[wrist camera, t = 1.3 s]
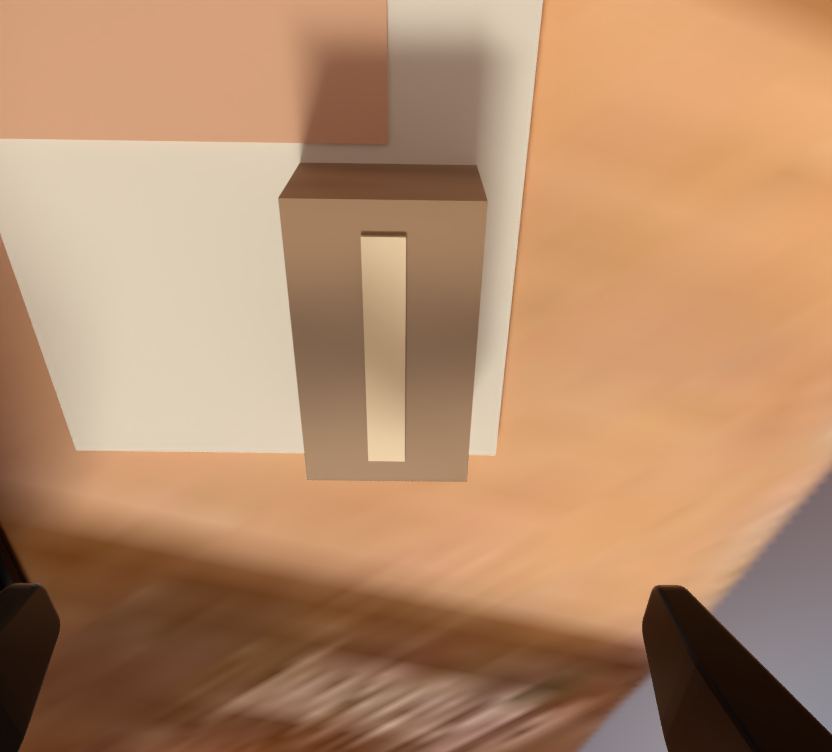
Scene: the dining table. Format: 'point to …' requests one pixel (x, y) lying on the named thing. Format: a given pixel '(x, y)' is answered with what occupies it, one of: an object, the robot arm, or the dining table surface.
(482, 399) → the mat
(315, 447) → the slotted tan box
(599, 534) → the dining table surface
